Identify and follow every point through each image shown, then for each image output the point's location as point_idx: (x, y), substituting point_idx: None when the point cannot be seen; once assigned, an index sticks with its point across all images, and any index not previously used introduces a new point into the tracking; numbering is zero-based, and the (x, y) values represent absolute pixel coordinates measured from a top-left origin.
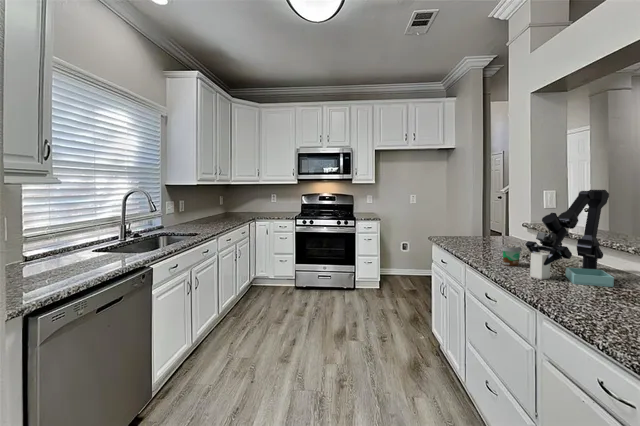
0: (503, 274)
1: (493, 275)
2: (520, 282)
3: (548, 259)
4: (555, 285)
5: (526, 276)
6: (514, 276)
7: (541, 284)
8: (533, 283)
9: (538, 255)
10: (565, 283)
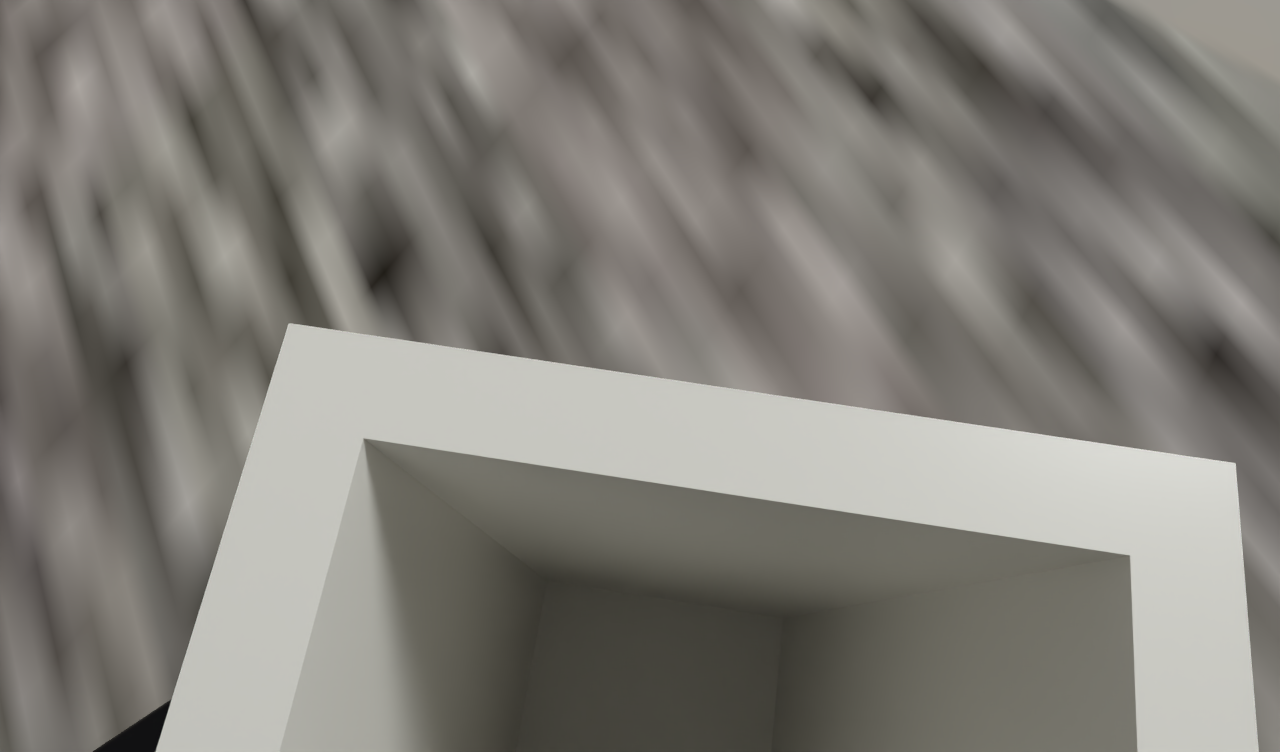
0: (1228, 296)
1: (1238, 77)
2: (657, 28)
3: (141, 726)
4: (146, 325)
5: None
6: (1001, 327)
7: (357, 186)
8: (483, 138)
9: (589, 387)
10: (29, 669)
